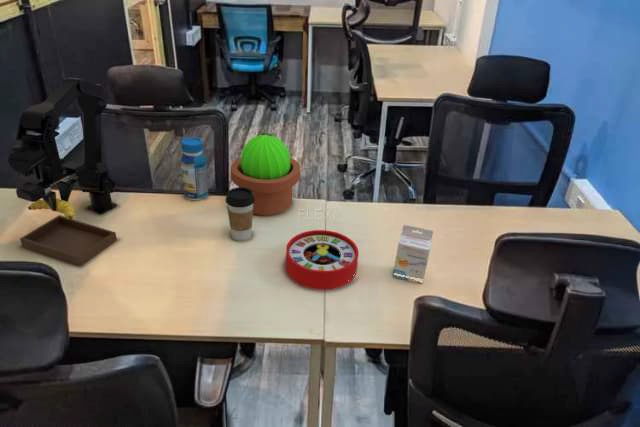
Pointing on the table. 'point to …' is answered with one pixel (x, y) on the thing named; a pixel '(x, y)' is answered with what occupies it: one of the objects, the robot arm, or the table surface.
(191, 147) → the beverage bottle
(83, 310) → the table surface
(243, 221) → the coffee cup
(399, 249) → the ink box
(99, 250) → the tray
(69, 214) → the banana
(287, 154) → the potted cactus
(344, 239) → the toy clock
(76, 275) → the table surface
